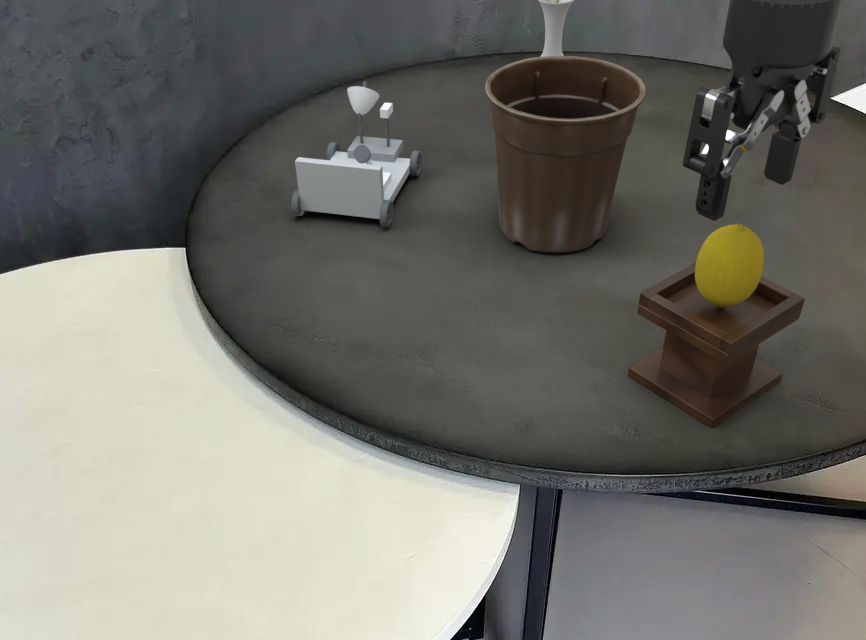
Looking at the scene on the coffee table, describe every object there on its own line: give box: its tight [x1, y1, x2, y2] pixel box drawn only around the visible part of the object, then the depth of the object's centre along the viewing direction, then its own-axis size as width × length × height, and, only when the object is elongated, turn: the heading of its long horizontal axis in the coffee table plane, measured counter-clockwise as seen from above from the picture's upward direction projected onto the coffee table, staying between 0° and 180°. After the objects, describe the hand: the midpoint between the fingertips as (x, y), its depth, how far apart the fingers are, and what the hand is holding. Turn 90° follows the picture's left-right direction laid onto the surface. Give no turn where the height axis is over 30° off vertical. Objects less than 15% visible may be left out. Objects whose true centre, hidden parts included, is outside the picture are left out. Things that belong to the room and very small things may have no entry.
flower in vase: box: [537, 0, 575, 57], centre depth 126 cm, size 13×11×25 cm
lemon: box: [695, 223, 765, 308], centre depth 84 cm, size 6×6×8 cm
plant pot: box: [484, 55, 646, 254], centre depth 107 cm, size 16×16×16 cm
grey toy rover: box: [290, 80, 423, 228], centre depth 117 cm, size 18×10×12 cm
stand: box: [627, 261, 806, 428], centre depth 89 cm, size 10×10×9 cm
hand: (743, 197), depth 79 cm, fingers open, 8 cm apart
